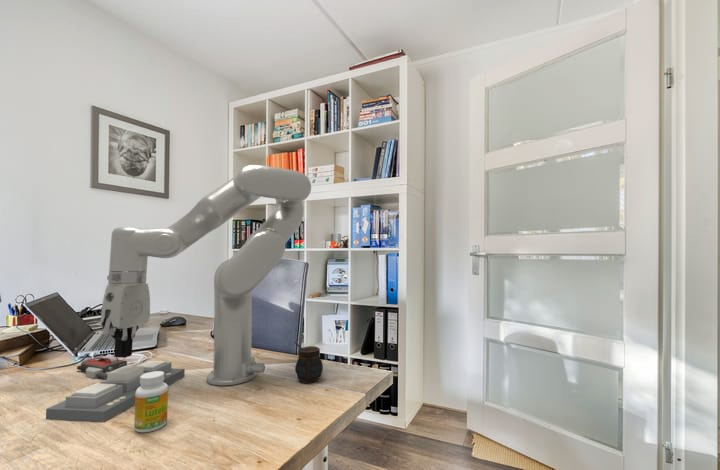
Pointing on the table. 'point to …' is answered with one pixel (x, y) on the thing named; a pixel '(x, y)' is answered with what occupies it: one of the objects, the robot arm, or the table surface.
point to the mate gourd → (309, 364)
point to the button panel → (107, 399)
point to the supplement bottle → (151, 402)
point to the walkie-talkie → (101, 366)
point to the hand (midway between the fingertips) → (122, 356)
